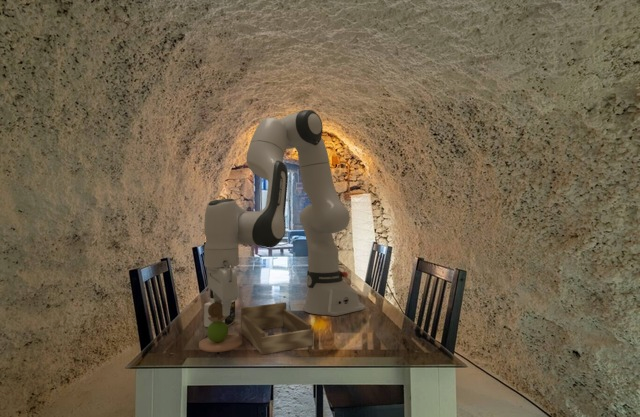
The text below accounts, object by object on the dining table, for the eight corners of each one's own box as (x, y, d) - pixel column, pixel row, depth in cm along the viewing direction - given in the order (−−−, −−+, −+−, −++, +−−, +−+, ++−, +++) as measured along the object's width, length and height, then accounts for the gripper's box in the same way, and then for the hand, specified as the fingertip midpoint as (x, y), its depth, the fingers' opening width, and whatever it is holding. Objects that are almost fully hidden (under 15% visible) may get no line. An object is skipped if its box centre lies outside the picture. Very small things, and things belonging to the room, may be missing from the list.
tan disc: (236, 335, 102) (236, 332, 102) (246, 347, 92) (246, 344, 92) (196, 341, 97) (196, 338, 97) (202, 355, 87) (202, 351, 87)
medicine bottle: (225, 328, 108) (225, 288, 108) (203, 327, 109) (204, 288, 109) (235, 321, 115) (235, 284, 115) (215, 320, 116) (215, 283, 116)
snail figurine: (230, 345, 91) (230, 298, 92) (204, 345, 91) (204, 298, 91) (233, 337, 97) (233, 293, 97) (209, 338, 96) (209, 294, 97)
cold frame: (285, 324, 111) (285, 302, 111) (313, 345, 93) (313, 318, 94) (240, 331, 105) (240, 307, 105) (262, 354, 87) (262, 326, 87)
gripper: (243, 262, 87) (244, 319, 87) (225, 254, 105) (225, 301, 105) (217, 264, 84) (217, 323, 84) (203, 256, 102) (202, 304, 102)
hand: (221, 311), depth 94 cm, fingers open, 8 cm apart
